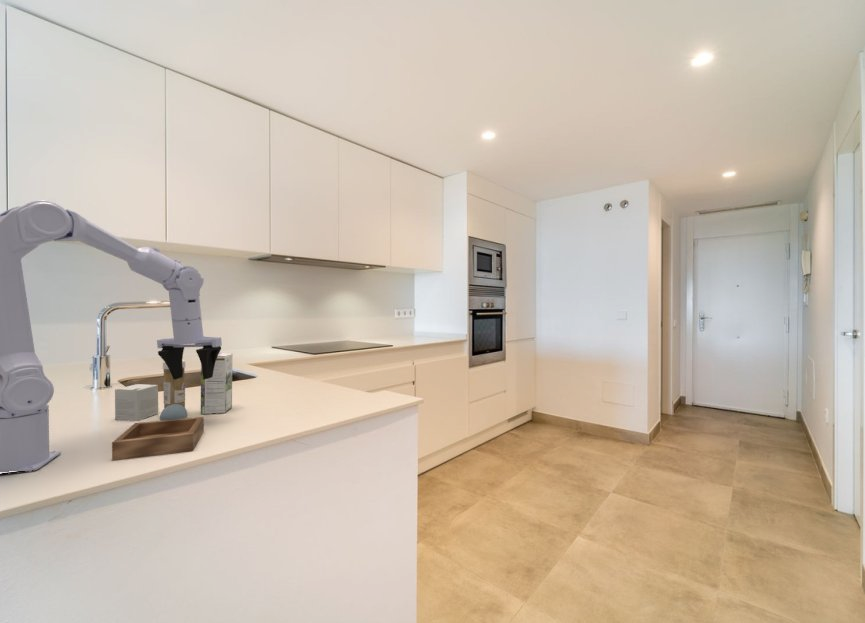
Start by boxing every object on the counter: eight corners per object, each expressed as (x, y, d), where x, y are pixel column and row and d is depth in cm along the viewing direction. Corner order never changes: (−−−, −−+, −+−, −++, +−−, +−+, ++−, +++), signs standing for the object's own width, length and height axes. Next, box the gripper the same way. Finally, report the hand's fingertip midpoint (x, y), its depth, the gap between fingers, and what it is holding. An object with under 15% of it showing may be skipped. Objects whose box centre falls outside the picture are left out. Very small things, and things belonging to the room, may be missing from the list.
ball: (157, 432, 82) (157, 408, 82) (163, 425, 87) (163, 402, 87) (184, 429, 84) (184, 406, 84) (189, 422, 89) (189, 400, 89)
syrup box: (208, 408, 101) (207, 352, 100) (233, 407, 102) (232, 352, 102) (200, 414, 95) (199, 355, 95) (226, 413, 96) (226, 355, 96)
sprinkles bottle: (185, 416, 94) (185, 360, 93) (162, 419, 91) (162, 362, 91) (185, 411, 98) (185, 358, 97) (163, 414, 95) (162, 359, 95)
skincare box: (136, 413, 96) (136, 383, 96) (159, 414, 96) (158, 384, 96) (114, 420, 90) (113, 388, 90) (138, 421, 90) (138, 389, 90)
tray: (112, 460, 67) (112, 442, 67) (135, 438, 78) (135, 422, 78) (192, 450, 72) (192, 434, 72) (203, 431, 83) (203, 416, 83)
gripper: (227, 316, 91) (233, 373, 93) (171, 318, 93) (177, 373, 94) (207, 320, 84) (213, 381, 86) (146, 322, 86) (153, 382, 87)
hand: (193, 378), depth 90 cm, fingers open, 7 cm apart
